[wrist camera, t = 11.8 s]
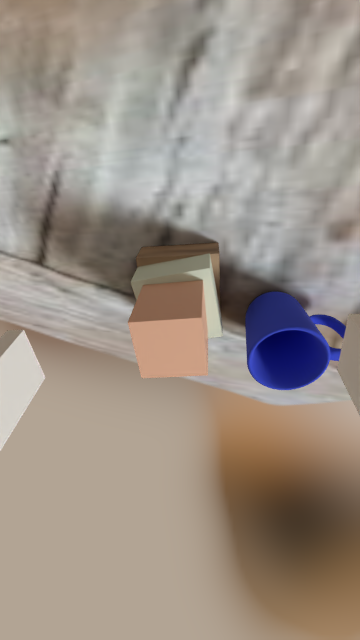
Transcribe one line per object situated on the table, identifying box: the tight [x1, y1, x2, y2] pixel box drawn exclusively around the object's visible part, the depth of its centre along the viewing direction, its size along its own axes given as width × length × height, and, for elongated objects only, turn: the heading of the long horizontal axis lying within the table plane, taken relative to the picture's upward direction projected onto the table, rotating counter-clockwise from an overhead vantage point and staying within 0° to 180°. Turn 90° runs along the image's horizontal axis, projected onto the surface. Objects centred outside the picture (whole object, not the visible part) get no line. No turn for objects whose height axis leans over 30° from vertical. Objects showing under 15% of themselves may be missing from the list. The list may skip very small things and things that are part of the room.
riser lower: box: [136, 243, 221, 312], centre depth 38 cm, size 9×9×4 cm
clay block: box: [128, 280, 208, 378], centre depth 30 cm, size 6×6×7 cm
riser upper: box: [131, 253, 223, 338], centre depth 35 cm, size 8×8×4 cm
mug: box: [245, 292, 346, 390], centre depth 36 cm, size 8×12×10 cm
